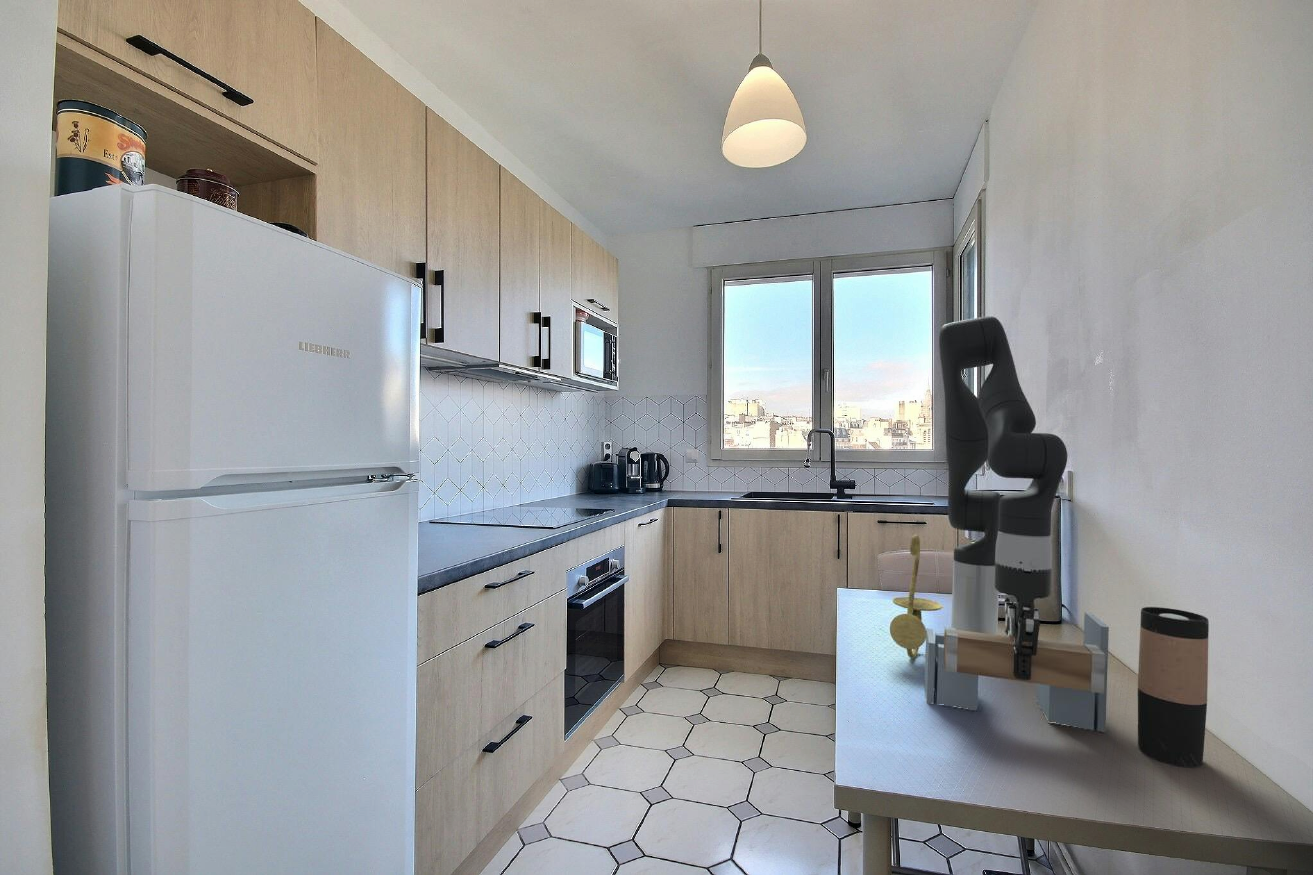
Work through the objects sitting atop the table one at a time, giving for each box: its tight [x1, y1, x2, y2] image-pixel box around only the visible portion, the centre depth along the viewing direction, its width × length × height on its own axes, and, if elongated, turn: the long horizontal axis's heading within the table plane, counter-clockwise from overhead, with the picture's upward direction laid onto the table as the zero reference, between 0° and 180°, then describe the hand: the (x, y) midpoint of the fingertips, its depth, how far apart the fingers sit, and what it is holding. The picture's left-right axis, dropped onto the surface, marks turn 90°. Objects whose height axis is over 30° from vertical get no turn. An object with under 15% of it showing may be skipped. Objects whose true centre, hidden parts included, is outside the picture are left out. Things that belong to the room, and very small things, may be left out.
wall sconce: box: [889, 534, 944, 659], centre depth 128 cm, size 14×10×25 cm
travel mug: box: [1137, 606, 1210, 768], centre depth 90 cm, size 8×8×20 cm
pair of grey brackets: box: [924, 611, 1110, 733], centre depth 105 cm, size 9×25×16 cm, turn 69°
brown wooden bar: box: [943, 626, 1105, 693], centre depth 98 cm, size 4×21×6 cm, turn 70°
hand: (1019, 672), depth 98 cm, fingers closed on brown wooden bar, 4 cm apart
